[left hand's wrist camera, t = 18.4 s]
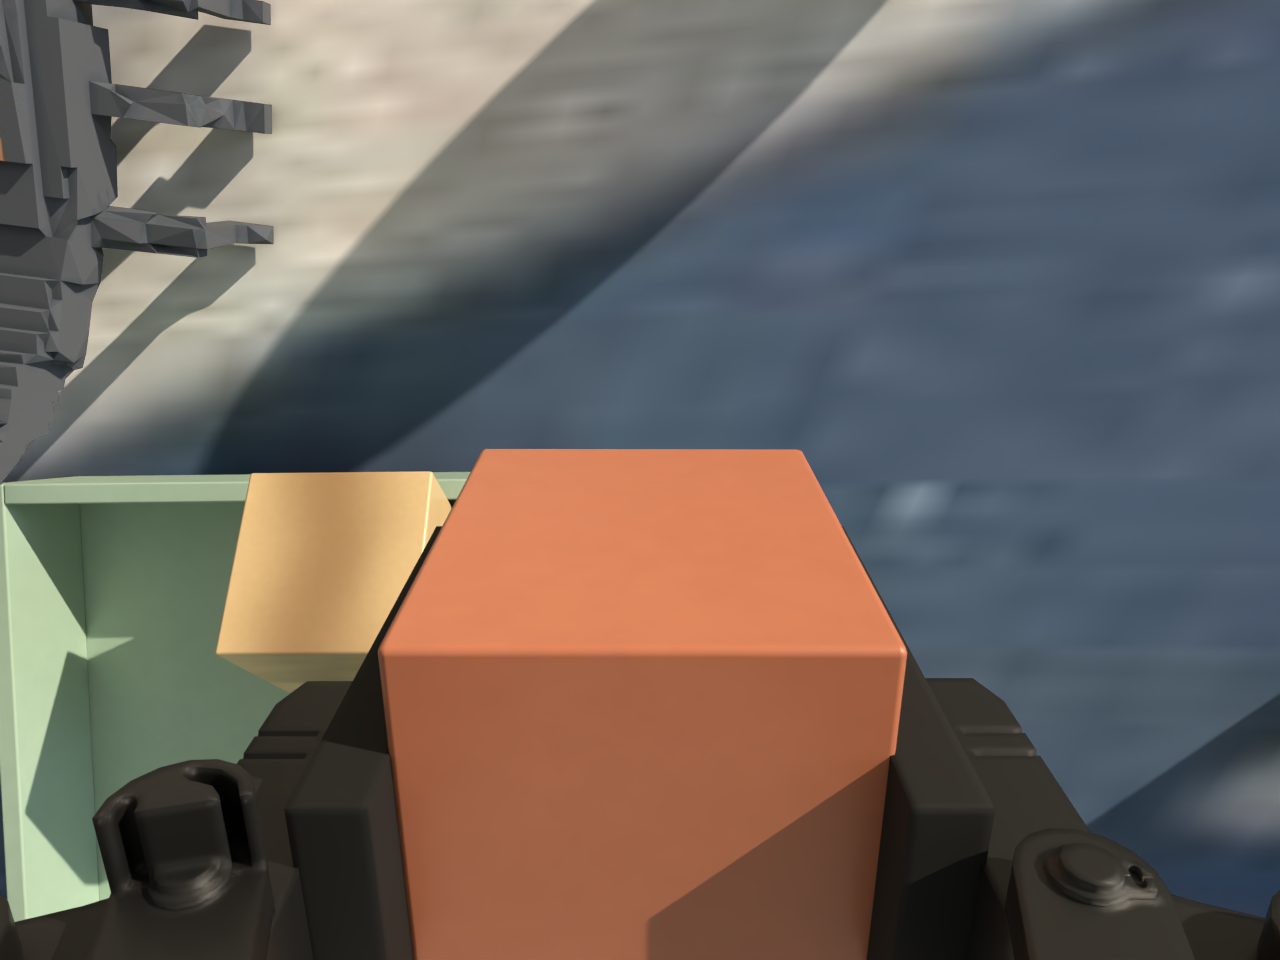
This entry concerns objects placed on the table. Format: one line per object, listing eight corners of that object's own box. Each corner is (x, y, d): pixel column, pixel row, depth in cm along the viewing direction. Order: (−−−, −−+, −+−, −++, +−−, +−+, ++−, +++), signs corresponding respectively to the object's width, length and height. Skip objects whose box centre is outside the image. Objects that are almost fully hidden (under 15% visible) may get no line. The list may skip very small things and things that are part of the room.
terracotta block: (802, 447, 14) (910, 648, 8) (784, 720, 16) (864, 1038, 10) (480, 446, 14) (373, 647, 8) (497, 719, 16) (417, 1037, 10)
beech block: (475, 547, 30) (432, 469, 24) (462, 700, 28) (413, 653, 22) (325, 548, 30) (249, 472, 24) (301, 700, 28) (213, 654, 22)
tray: (521, 471, 30) (460, 491, 21) (537, 1249, 32) (487, 1584, 23) (77, 476, 31) (-175, 498, 22) (115, 1246, 32) (-103, 1575, 23)
